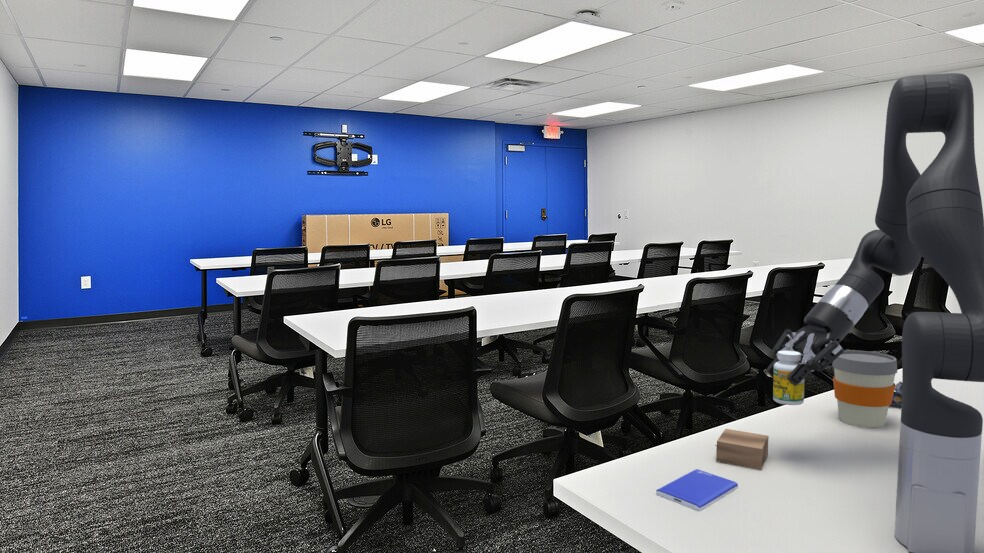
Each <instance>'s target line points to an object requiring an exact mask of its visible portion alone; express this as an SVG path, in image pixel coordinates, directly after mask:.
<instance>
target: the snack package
mask: <svg viewBox="0 0 984 553" xmlns="http://www.w3.org/2000/svg"><path fill="white" fill-rule="evenodd" d="M892 405H893V406H898V407H899V406H900V407H901V405H902V381H900V380H899V382H898V383H895V389H894V394H893V399H892V404H891V405H890V406H892Z"/></svg>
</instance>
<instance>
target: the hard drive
mask: <svg viewBox="0 0 984 553" xmlns="http://www.w3.org/2000/svg"><path fill="white" fill-rule="evenodd" d="M738 487H739V484H738V483H737V481H734V480H731V479H729V478H725V477H723V476H719V475H716V474H713V473H710V472H707V471H704V470H701V469H693V470H692V471H690V472H688V473H686V474H684V475H682V476H680V477H678V478H677V479H675V480H673V481H670V482H669V483H667V484H665V485H662V487H660V488H657V489H656V490H655V491H656V492H655V494H656V496H659V497H661V498H665V499H667V500H670V501H672V502H675V503H677V504H680V505H683V506H685V507H687V508H691V509H693V510H695V511H698V512H701V511H703V510H704V509H706V508H707V507H710V506H711V505H712V504H715V503H716V502H718V501H719V500H721V499H723V498H724V497H725V496H728V495H729V494H731V493H733V492H734V491H735V490H737V489H738Z"/></svg>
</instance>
